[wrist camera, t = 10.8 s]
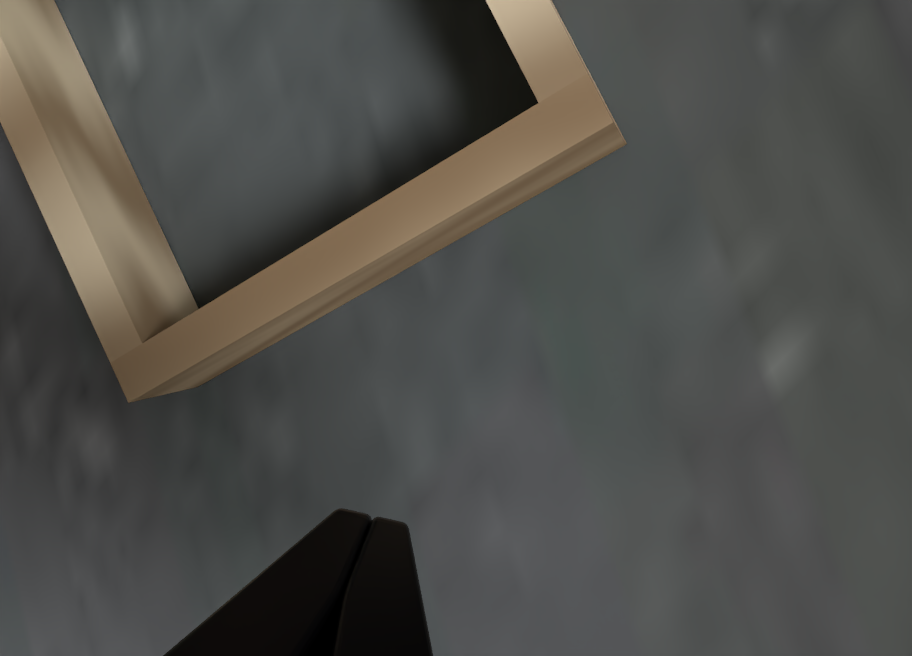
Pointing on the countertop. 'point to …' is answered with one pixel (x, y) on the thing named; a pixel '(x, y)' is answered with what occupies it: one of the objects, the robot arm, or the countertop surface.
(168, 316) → the wooden square frame
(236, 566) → the countertop surface
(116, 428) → the countertop surface
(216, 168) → the countertop surface
